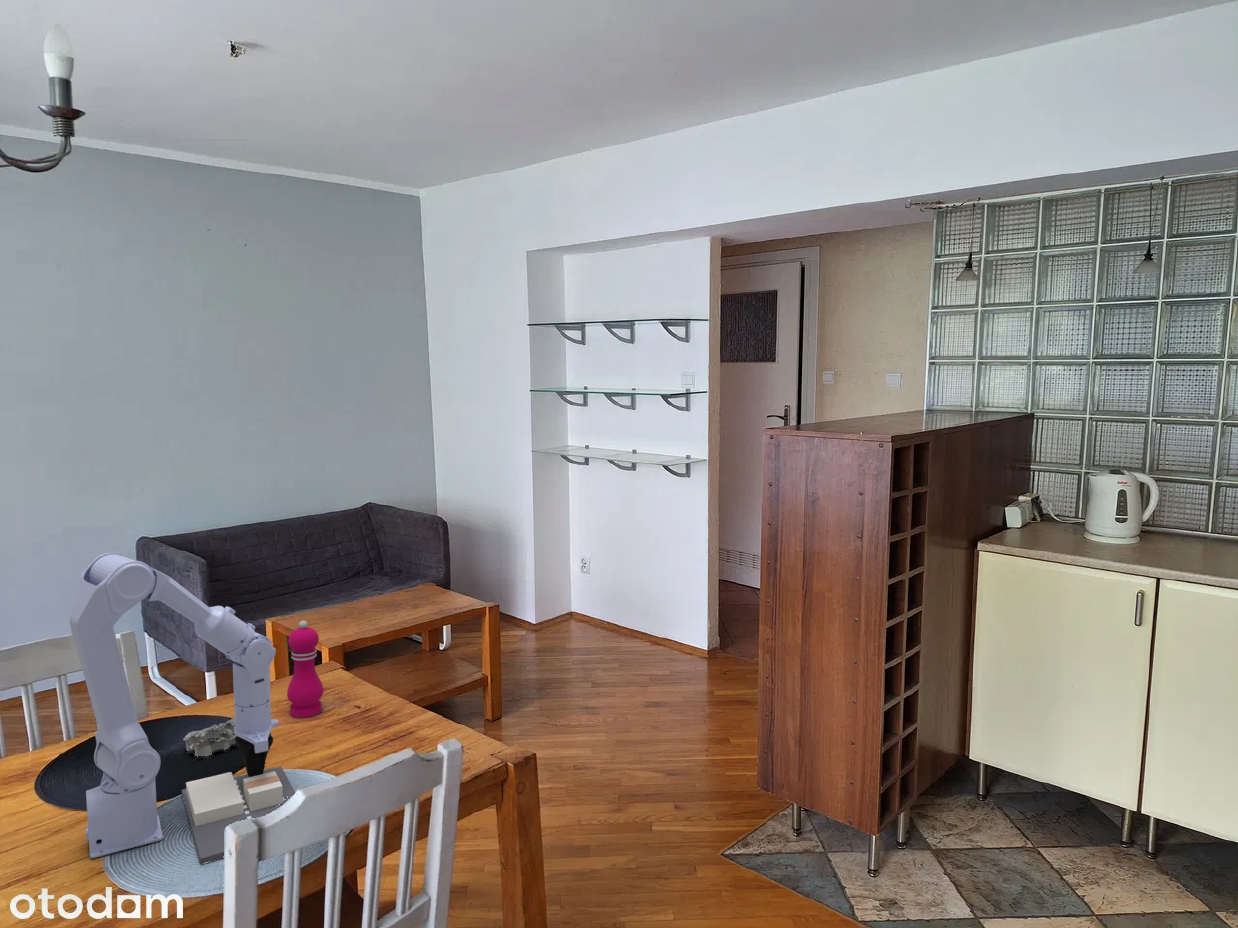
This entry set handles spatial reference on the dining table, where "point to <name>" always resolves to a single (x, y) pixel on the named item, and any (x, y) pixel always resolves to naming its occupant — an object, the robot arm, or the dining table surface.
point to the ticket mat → (216, 829)
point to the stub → (263, 791)
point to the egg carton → (206, 747)
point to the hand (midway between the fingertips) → (255, 776)
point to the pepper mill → (304, 673)
